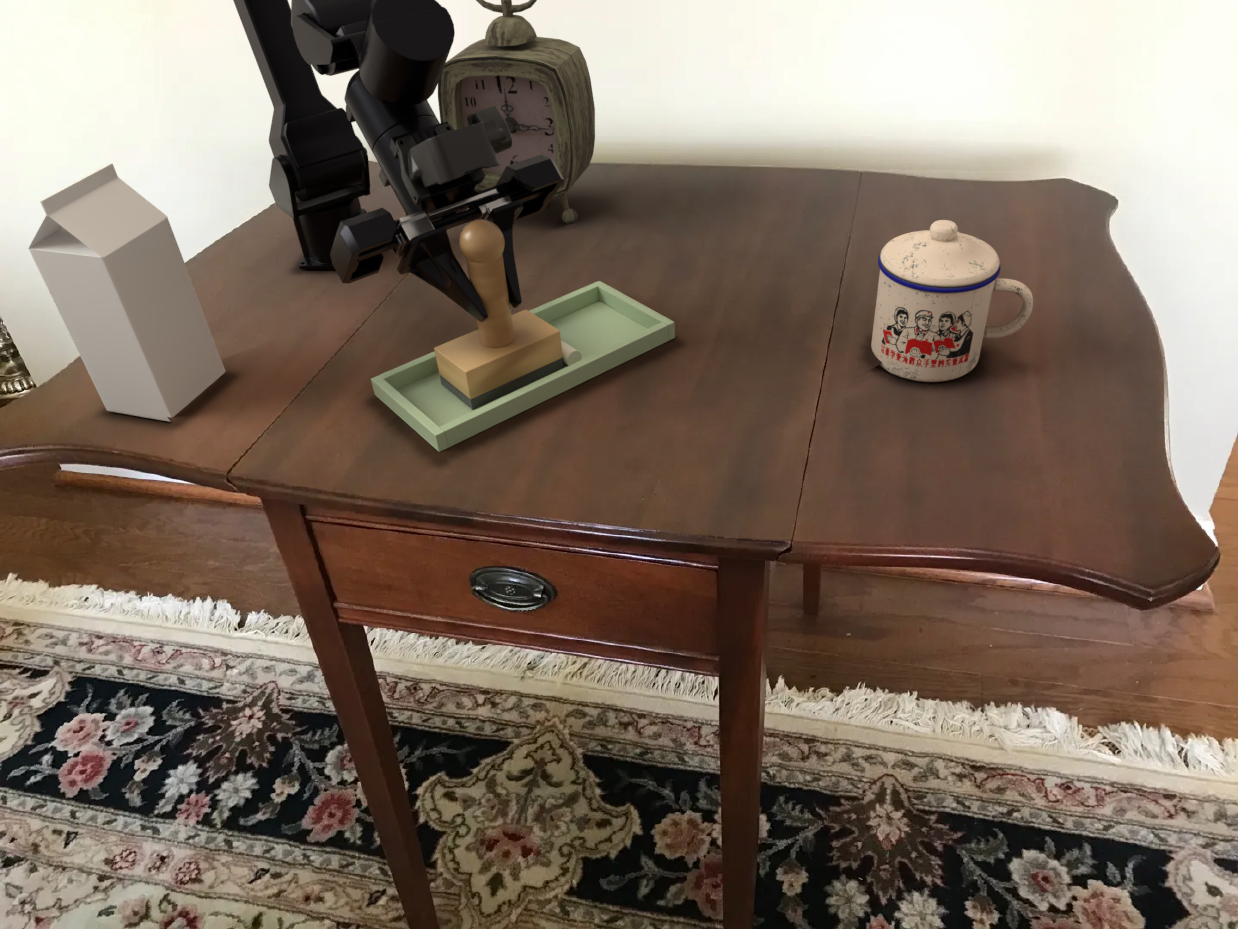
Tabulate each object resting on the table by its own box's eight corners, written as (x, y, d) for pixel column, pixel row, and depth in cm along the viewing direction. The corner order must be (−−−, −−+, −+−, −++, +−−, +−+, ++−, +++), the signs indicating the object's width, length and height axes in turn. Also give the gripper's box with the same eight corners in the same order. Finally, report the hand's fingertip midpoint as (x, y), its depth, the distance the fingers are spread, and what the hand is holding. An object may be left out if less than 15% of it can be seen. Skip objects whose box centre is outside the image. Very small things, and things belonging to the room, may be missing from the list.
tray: (440, 459, 73) (435, 435, 71) (376, 401, 79) (370, 378, 78) (675, 344, 84) (674, 321, 82) (601, 302, 90) (599, 280, 89)
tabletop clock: (458, 223, 106) (414, -25, 91) (489, 190, 113) (454, -46, 97) (581, 232, 102) (558, -25, 87) (606, 198, 109) (589, -47, 94)
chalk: (584, 352, 80) (571, 348, 79) (577, 368, 81) (564, 365, 79) (543, 326, 84) (530, 322, 83) (536, 341, 84) (524, 338, 83)
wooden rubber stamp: (472, 410, 76) (442, 251, 68) (441, 384, 79) (409, 229, 71) (564, 367, 80) (547, 213, 72) (531, 345, 83) (510, 194, 75)
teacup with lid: (863, 379, 77) (878, 246, 70) (871, 323, 84) (886, 196, 77) (1021, 395, 75) (1054, 257, 67) (1016, 335, 81) (1046, 204, 74)
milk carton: (229, 378, 84) (149, 166, 72) (175, 425, 79) (79, 204, 67) (163, 368, 86) (75, 160, 74) (107, 413, 81) (2, 197, 69)
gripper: (305, 110, 64) (417, 317, 63) (537, 47, 72) (636, 229, 72) (290, 191, 74) (387, 370, 73) (496, 127, 82) (583, 287, 82)
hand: (501, 312), depth 75 cm, fingers closed on wooden rubber stamp, 3 cm apart
